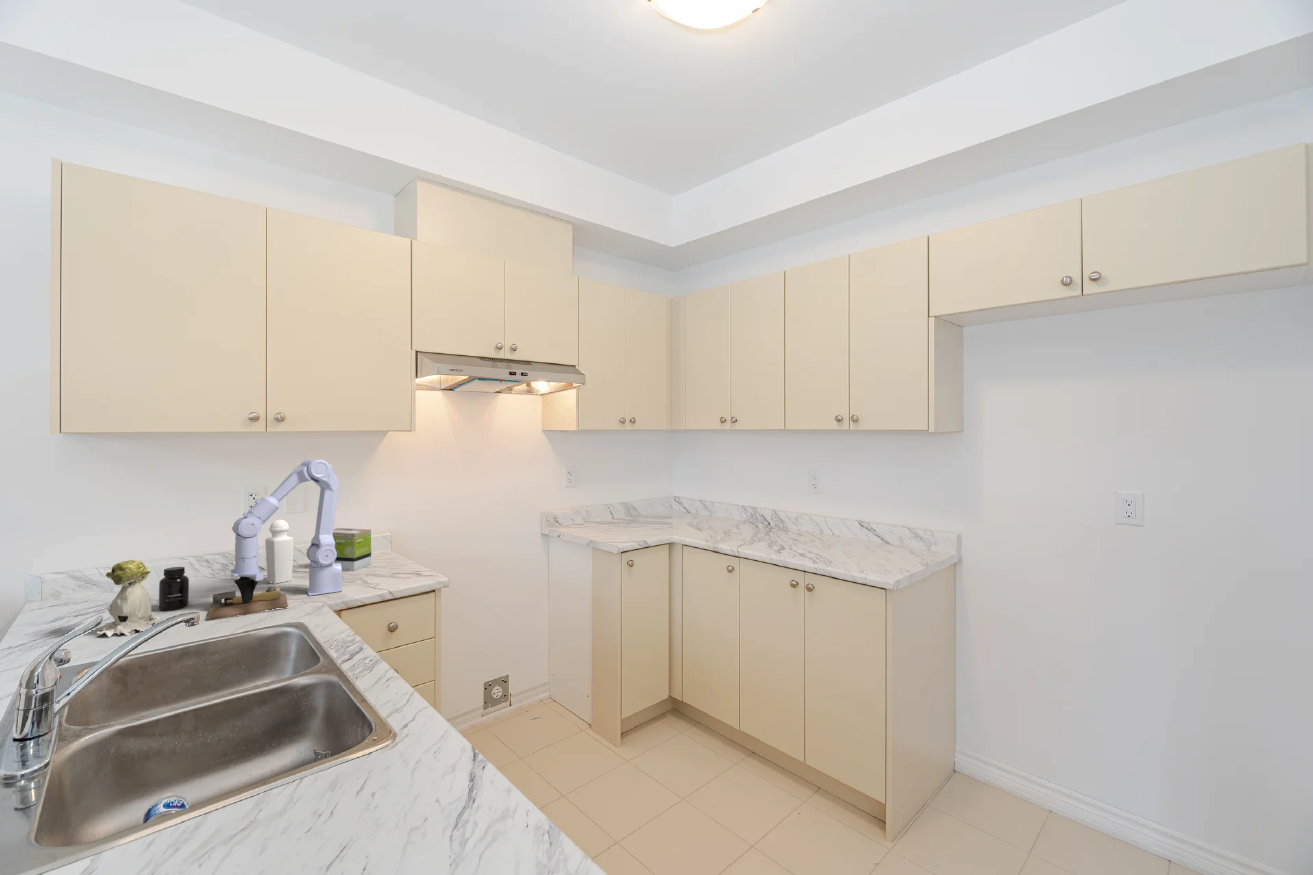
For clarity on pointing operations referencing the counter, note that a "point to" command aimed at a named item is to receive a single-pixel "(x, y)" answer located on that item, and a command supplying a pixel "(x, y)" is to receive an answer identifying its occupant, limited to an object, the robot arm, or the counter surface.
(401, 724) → the counter surface
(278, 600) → the hinge board
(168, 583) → the supplement bottle
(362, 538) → the tea box
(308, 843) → the counter surface
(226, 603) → the link
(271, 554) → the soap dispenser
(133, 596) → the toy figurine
